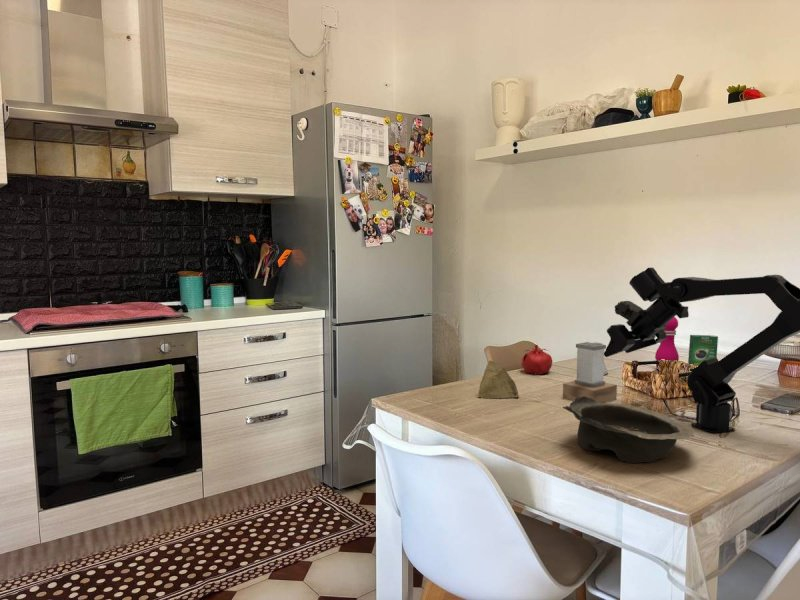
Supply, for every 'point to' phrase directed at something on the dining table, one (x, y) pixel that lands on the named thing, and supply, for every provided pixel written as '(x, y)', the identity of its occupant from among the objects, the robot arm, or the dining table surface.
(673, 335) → the pepper mill
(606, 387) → the stand
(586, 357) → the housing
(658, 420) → the stone bowl
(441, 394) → the dining table surface
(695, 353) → the coffee box
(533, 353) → the pomegranate
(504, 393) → the rock
